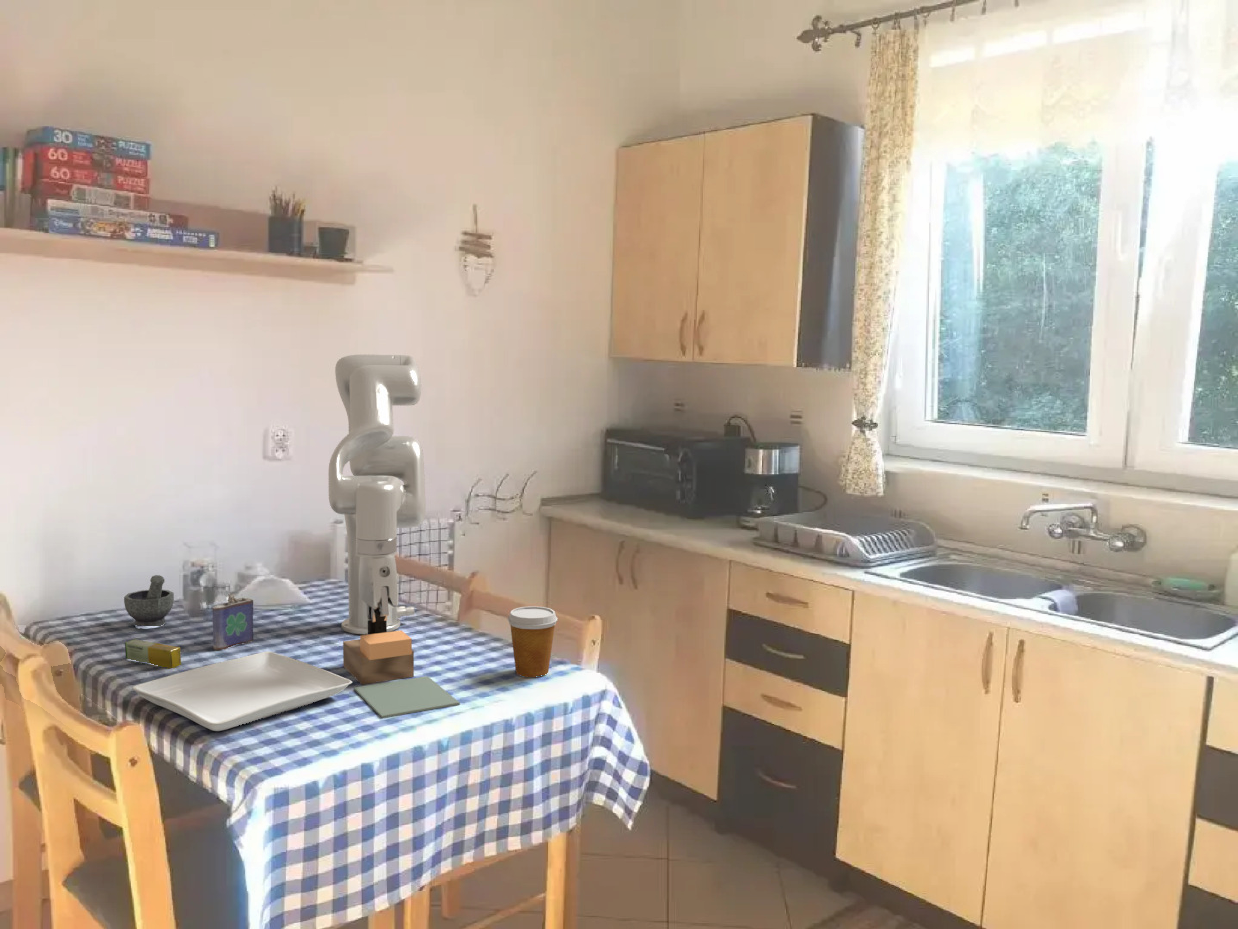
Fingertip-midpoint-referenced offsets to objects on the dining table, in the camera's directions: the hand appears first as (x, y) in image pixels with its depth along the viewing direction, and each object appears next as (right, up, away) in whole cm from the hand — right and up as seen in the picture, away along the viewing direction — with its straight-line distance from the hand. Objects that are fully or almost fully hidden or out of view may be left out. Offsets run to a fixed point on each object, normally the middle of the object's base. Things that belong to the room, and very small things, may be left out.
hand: (377, 640), depth 198 cm
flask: (-33, -4, +15) cm, 37 cm away
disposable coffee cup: (+30, -7, +2) cm, 30 cm away
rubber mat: (+8, -8, -13) cm, 17 cm away
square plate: (-20, -8, -16) cm, 27 cm away
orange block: (+3, -2, -4) cm, 5 cm away
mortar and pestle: (-56, -2, +28) cm, 62 cm away
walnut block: (0, -6, +1) cm, 6 cm away
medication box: (-44, -5, +3) cm, 45 cm away
